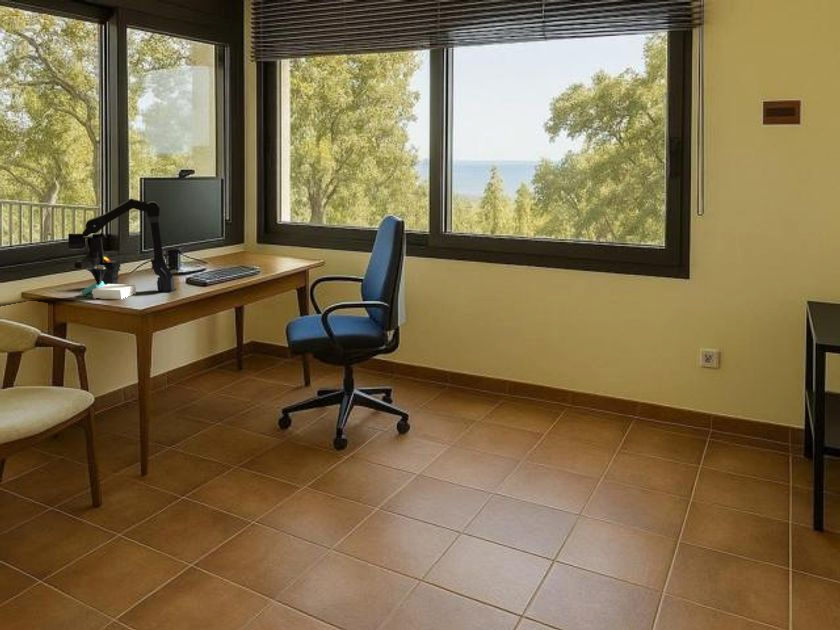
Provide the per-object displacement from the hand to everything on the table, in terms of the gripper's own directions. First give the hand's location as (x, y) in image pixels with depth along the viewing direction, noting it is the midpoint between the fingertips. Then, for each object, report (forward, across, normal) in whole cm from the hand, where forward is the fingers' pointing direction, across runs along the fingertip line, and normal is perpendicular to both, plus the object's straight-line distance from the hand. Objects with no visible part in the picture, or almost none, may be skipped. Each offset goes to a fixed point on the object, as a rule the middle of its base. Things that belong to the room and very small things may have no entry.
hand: (99, 284), depth 322 cm
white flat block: (+5, +7, +1) cm, 8 cm away
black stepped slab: (+5, -5, +16) cm, 18 cm away
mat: (+5, -5, +2) cm, 7 cm away
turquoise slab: (+3, -3, +1) cm, 4 cm away
